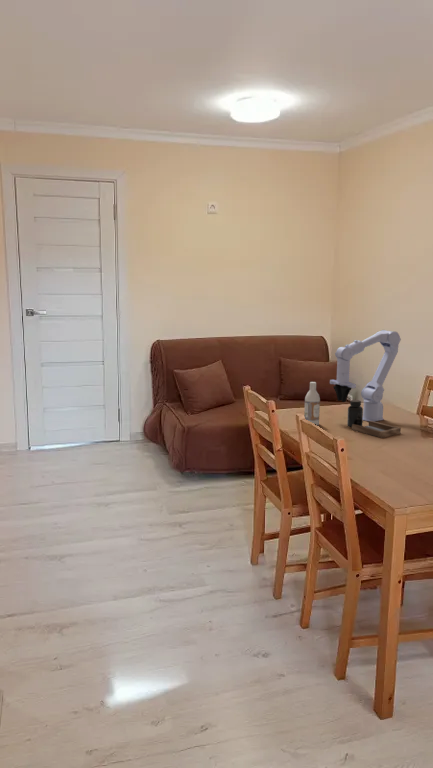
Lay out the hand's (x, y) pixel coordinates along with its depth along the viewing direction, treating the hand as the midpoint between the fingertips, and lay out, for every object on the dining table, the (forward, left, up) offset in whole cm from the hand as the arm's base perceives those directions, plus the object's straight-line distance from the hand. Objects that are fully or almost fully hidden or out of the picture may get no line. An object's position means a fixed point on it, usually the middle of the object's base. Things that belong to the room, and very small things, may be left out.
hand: (341, 401), depth 277 cm
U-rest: (0, +20, -10) cm, 23 cm away
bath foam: (+14, -5, -11) cm, 18 cm away
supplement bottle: (0, +9, -11) cm, 14 cm away
